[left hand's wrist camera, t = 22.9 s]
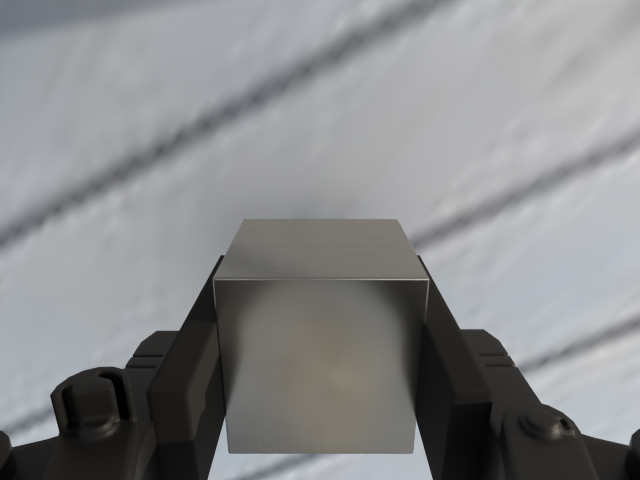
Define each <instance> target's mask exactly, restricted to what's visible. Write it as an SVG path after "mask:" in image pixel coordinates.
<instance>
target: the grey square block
mask: <svg viewBox="0 0 640 480" xmlns="http://www.w3.org/2000/svg"><path fill="white" fill-rule="evenodd" d="M213 289H214V300H215V311H216V322H217V332H218V343H219V354H220V365H221V376H222V387H223V398H224V409H225V421H226V432H227V443H228V452H229V453H230V454H412V453H413V450H414V439H415V428H416V406H417V395H418V384H419V374H420V363H421V352H422V341H423V330H424V323H425V321H426V310H427V300H428V289H429V277H428V275H427V273H426V272H425V270H424V268H423V266H422V264H421V262H420V260H419V259H418V257H417V255H416V253H415V251H414V249H413V247H412V246H411V244H410V242H409V240H408V238H407V236H406V235H405V233H404V231H403V229H402V227H401V225H400V223H399V222H398V220H397V219H245V220H244V221H243V223H242V225H241V226H240V228H239V230H238V232H237V234H236V236H235V238H234V240H233V241H232V243H231V245H230V247H229V249H228V251H227V253H226V255H225V256H224V258H223V260H222V262H221V264H220V266H219V268H218V270H217V271H216V273H215V275H214V277H213Z"/></svg>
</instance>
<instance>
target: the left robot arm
mask: <svg viewBox="0 0 640 480" xmlns="http://www.w3.org/2000/svg"><path fill="white" fill-rule="evenodd" d="M224 256H225V255H221V256H220V258H219V260H218V262H217V263H216V265H215V267H214V269H213V271H212V272H211V274H210V276H209V278H208V280H207V282H206V283H205V285H204V287H203V289H202V291H201V292H200V294H199V296H198V298H197V300H196V302H195V303H194V305H193V307H192V309H191V311H190V312H189V314H188V316H187V318H186V320H185V322H184V323H183V325H182V327H181V329H180V331H156V332H155V333H153V334H152V335H151V336H149V337H148V338H146V339H145V340H144V341H142V342H141V344H140V345H139V347H138V348H137V350H136V351H135V352H134V354H133V358H130V360H129V361H128V363H127V364H126V368H125V369H120V368H116V367H97V368H93V369H89V370H85V371H82V372H80V373H77V374H75V375H73V376H71V377H69V378H67V379H66V380H65V381H63V382H62V383H60V384H59V385H58V386H57V387H56V388H55V390H54V391H53V392H52V393H51V395H50V397H51V401H52V404H53V408H54V412H55V416H56V420H57V424H58V428H59V432H60V433H59V435H58V436H57V437H53V438H50V439H47V440H42V441H38V442H34V443H29V444H25V445H21V446H16V447H12V445H11V442H10V439H9V437H8V436H7V435H6V434H5V433H4V432H3V431H0V480H207V479H208V475H209V472H210V468H211V465H212V461H213V458H214V454H215V450H216V447H217V443H218V440H219V436H220V432H221V429H222V425H223V422H224V418H225V409H224V398H223V387H222V376H221V365H220V354H219V343H218V332H217V322H216V311H215V300H214V289H213V277H214V275H215V273H216V271H217V270H218V268H219V266H220V264H221V262H222V260H223V258H224ZM417 257H418V259H419V260H420V262H421V264H422V266H423V268H424V270H425V272H426V273H427V275H428V277H429V289H428V300H427V310H426V321H425V323H424V330H423V341H422V352H421V363H420V374H419V384H418V395H417V406H416V420H417V424H418V428H419V431H420V435H421V438H422V442H423V446H424V449H425V453H426V456H427V460H428V463H429V467H430V471H431V474H432V478H433V480H640V429H638V430H637V431H636V432H635V433H634V434H633V435H632V437H631V440H630V444H629V446H628V445H623V444H619V443H615V442H610V441H606V440H602V439H597V438H593V437H590V436H587V435H583V434H581V432H580V431H579V429H578V428H577V426H576V425H575V423H574V422H573V421H572V420H571V419H570V418H568V417H567V416H566V415H565V414H564V413H562V412H560V411H558V410H556V409H554V408H552V407H550V406H548V405H545V404H542V403H541V402H540V401H539V399H538V398H537V396H536V395H535V393H534V392H533V390H532V389H531V387H530V386H529V384H528V383H527V381H526V380H525V378H524V377H523V375H522V374H521V372H520V371H519V369H518V368H517V367H515V363H514V362H513V360H512V359H511V358H510V356H508V353H507V352H506V350H505V349H504V347H503V346H502V344H501V343H500V341H499V340H498V339H496V338H495V337H493V336H492V335H491V334H489V333H488V332H486V331H485V330H484V329H460V328H459V326H458V324H457V323H456V321H455V319H454V317H453V315H452V314H451V312H450V310H449V308H448V306H447V304H446V303H445V301H444V299H443V297H442V295H441V294H440V292H439V290H438V288H437V286H436V285H435V283H434V281H433V279H432V277H431V275H430V274H429V272H428V270H427V268H426V266H425V265H424V263H423V261H422V259H421V257H420V255H417Z"/></svg>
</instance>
